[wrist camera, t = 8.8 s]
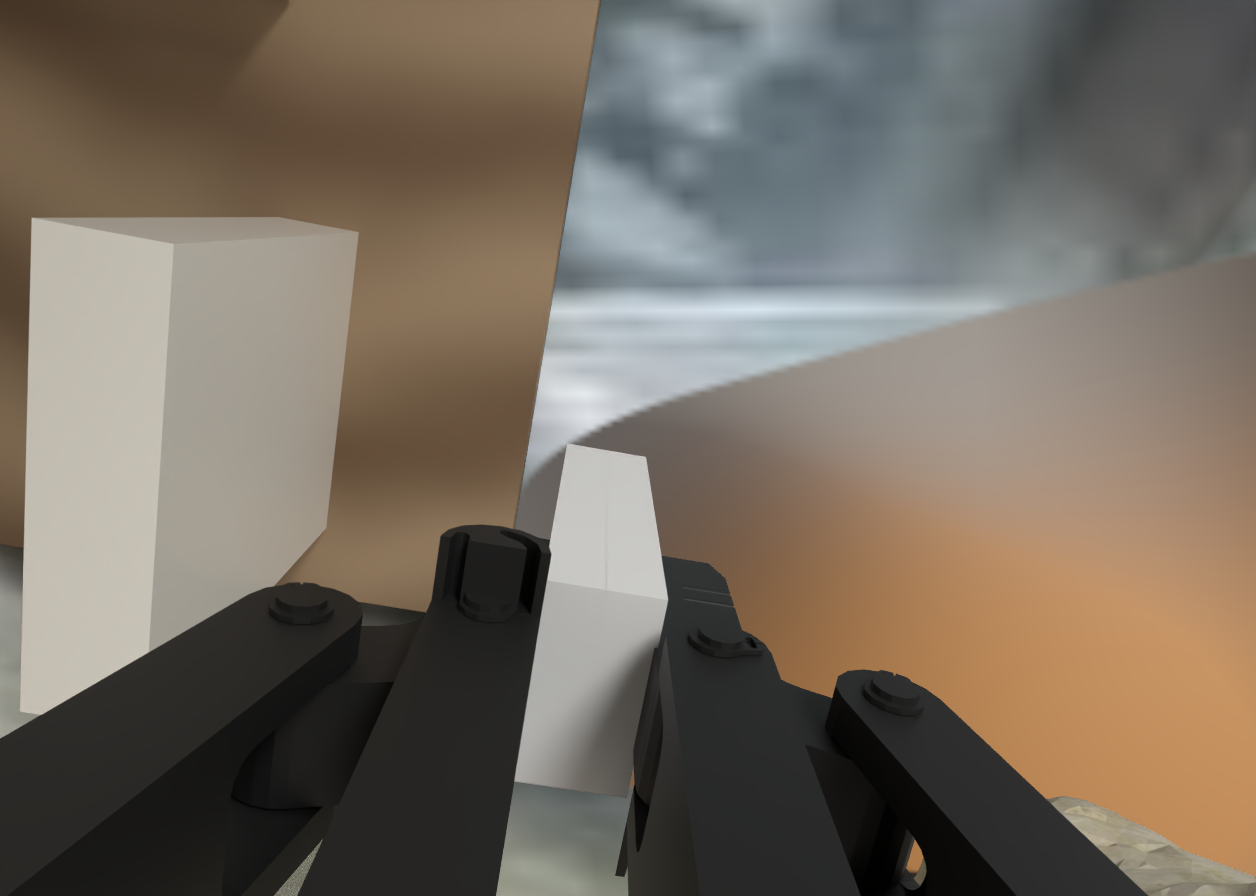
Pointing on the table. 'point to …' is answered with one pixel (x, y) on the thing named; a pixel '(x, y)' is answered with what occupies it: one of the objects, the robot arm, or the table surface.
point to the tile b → (171, 427)
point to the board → (327, 218)
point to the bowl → (1148, 855)
